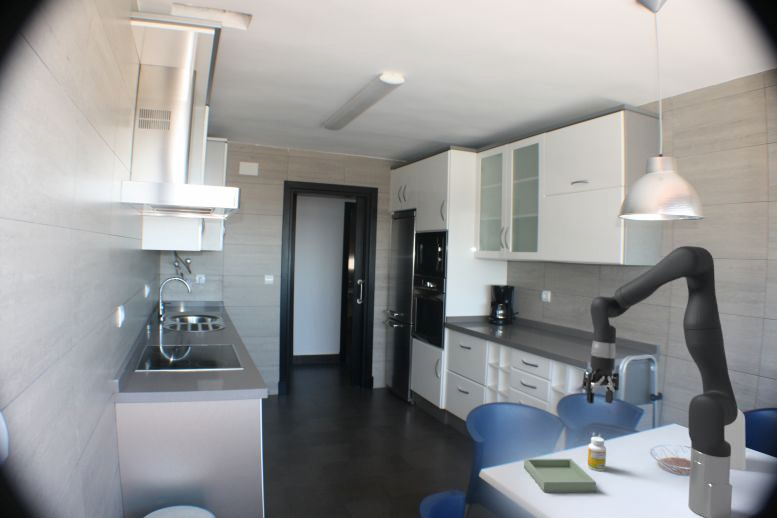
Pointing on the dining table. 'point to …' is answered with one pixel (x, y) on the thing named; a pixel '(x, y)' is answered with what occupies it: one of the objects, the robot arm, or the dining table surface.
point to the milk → (736, 442)
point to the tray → (559, 475)
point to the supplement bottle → (597, 454)
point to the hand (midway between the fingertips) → (599, 402)
